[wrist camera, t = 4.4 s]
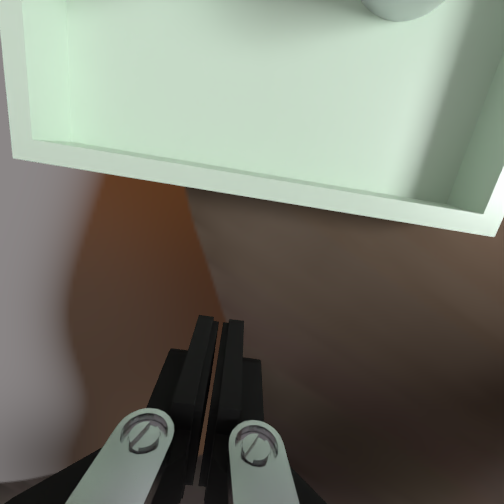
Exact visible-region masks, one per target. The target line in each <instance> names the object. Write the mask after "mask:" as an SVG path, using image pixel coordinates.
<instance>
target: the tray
mask: <svg viewBox="0 0 504 504" xmlns="http://www.w3.org/2000/svg"><path fill="white" fill-rule="evenodd" d="M0 36H1V46H2V56H3V66H4V76H5V86H6V96H7V105H8V116H9V127H10V136H11V146H12V157H13V158H14V159H20V160H26V161H32V162H38V163H45V164H51V165H56V166H63V167H69V168H75V169H81V170H88V171H93V172H99V173H106V174H111V175H118V176H124V177H130V178H136V179H142V180H148V181H154V182H160V183H167V184H173V185H179V186H185V187H191V188H197V189H203V190H209V191H216V192H222V193H228V194H234V195H240V196H246V197H252V198H258V199H265V200H271V201H277V202H283V203H289V204H295V205H301V206H307V207H313V208H320V209H326V210H332V211H338V212H344V213H350V214H356V215H362V216H369V217H375V218H381V219H387V220H393V221H399V222H405V223H411V224H418V225H424V226H430V227H436V228H442V229H448V230H454V231H460V232H466V233H473V234H479V235H485V236H491V237H495V235H496V233H497V230H498V228H499V226H500V224H501V221H502V219H503V217H504V0H445V1H444V2H443V3H442V4H440V5H439V6H438V7H437V8H435V9H434V10H432V11H431V12H430V13H428V14H426V15H424V16H422V17H420V18H417V19H414V20H410V21H402V22H396V21H389V20H386V19H383V18H381V17H379V16H377V15H375V14H374V13H372V12H371V11H370V10H369V9H368V8H367V7H366V6H365V5H364V4H363V3H362V1H361V0H0Z"/></svg>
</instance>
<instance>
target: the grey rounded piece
mask: <svg viewBox="0 0 504 504" xmlns="http://www.w3.org/2000/svg"><path fill="white" fill-rule="evenodd" d="M361 1H362V3H363V4H364V5H365V6H366V7H367V8H368V9H369V10H370V11H371V12H372V13H374V14H375V15H377V16H379V17H381V18H383V19H386V20H389V21H396V22H402V21H410V20H414V19H417V18H420V17H422V16H424V15H426V14H428V13H430V12H431V11H432V10H434V9H435V8H437V7H438V6H439V5H440V4H442V3H443V2H444V1H445V0H361Z"/></svg>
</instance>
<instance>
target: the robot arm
mask: <svg viewBox="0 0 504 504" xmlns="http://www.w3.org/2000/svg"><path fill="white" fill-rule="evenodd" d="M213 319H214V317H209V316H202V315H199V317H198V320H197V323H196V327H195V330H194V333H193V337H192V339H191V343H190V346H189V349H188V351H187V350H180V349H170V351H169V353H168V356H167V358H166V360H165V363H164V365H163V368H162V370H161V373H160V375H159V378H158V380H157V383H156V385H155V388H154V390H153V393H152V395H151V398H150V400H149V403H148V405H147V407H146V409H140V410H137V411H135V412H132V413H131V414H129V415H128V416H126V417H125V418H123V420H122V421H121V422H120V423H119V424H118V425H117V427H116V428H115V430H114V431H113V433H112V434H111V436H110V437H109V439H108V440H107V442H106V443H105V445H104V446H103V447H102V448H100V449H98V450H97V451H95V452H93V453H91V454H90V455H88V456H86V457H84V458H83V459H81V460H79V461H77V462H76V463H74V464H72V465H70V466H68V467H67V468H65V469H63V470H61V471H60V472H58V473H56V474H54V475H52V476H51V477H49V478H47V479H45V480H44V481H42V482H40V483H38V484H37V485H35V486H33V487H31V488H30V489H28V490H26V491H24V492H22V493H21V494H19V495H17V496H15V497H14V498H12V499H10V500H9V501H8V502H6V503H5V504H178V503H180V501H181V498H183V494H184V489H185V485H193V480H194V474H195V468H196V462H197V457H198V451H199V445H200V439H201V433H202V428H203V422H204V416H205V410H206V404H207V399H208V392H209V386H210V380H211V373H212V366H213V359H214V352H215V345H216V338H217V331H218V324H219V322H217V321H213ZM243 333H244V321H239V320H232V319H230V320H229V323H225V322H224V323H223V328H222V334H221V341H220V347H219V354H218V360H217V367H216V373H215V380H214V385H213V392H212V398H211V405H210V411H209V418H208V425H207V432H206V439H205V446H204V452H203V459H202V466H201V473H200V480H199V486H204V487H206V490H205V498H204V501H205V502H204V504H327V503H326V502H325V501H324V500H323V499H322V498H321V497H320V496H319V495H318V494H317V493H316V492H315V491H314V490H313V489H312V488H311V487H310V486H309V485H308V484H307V483H306V482H305V481H304V480H303V479H302V478H301V477H300V476H299V475H298V474H297V473H296V472H295V471H294V470H293V469H292V468H291V467H290V466H289V462H288V459H287V455H286V451H285V447H284V444H283V441H282V439H281V437H280V435H279V434H278V432H277V431H276V430H275V429H274V428H273V427H271V426H270V425H269V424H267V423H264V413H263V394H262V374H261V361H260V360H258V359H250V358H243Z"/></svg>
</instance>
